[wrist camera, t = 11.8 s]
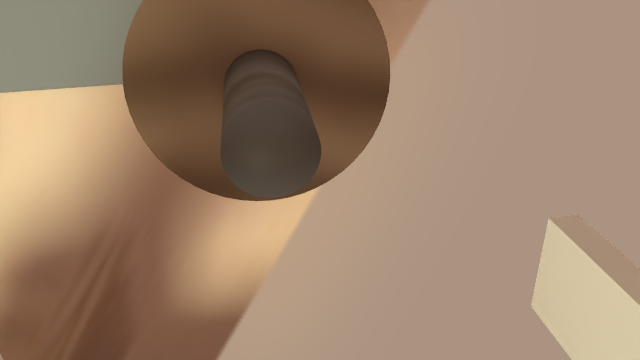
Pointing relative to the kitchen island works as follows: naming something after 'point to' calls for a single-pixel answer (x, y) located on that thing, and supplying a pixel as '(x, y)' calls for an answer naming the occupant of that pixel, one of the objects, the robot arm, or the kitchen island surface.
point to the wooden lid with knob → (256, 90)
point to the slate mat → (63, 43)
